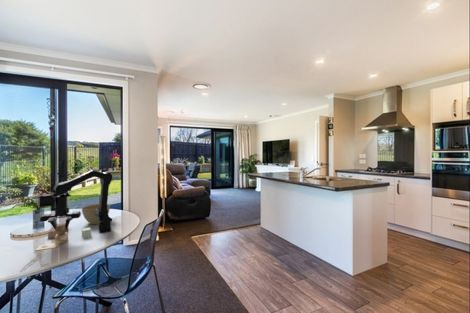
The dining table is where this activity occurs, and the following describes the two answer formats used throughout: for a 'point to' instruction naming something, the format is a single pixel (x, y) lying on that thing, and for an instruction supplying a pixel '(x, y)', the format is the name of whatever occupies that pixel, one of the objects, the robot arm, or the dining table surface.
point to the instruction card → (47, 246)
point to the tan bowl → (92, 213)
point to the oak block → (61, 238)
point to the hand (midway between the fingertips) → (61, 230)
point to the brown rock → (53, 232)
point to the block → (86, 232)
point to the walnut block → (61, 229)
